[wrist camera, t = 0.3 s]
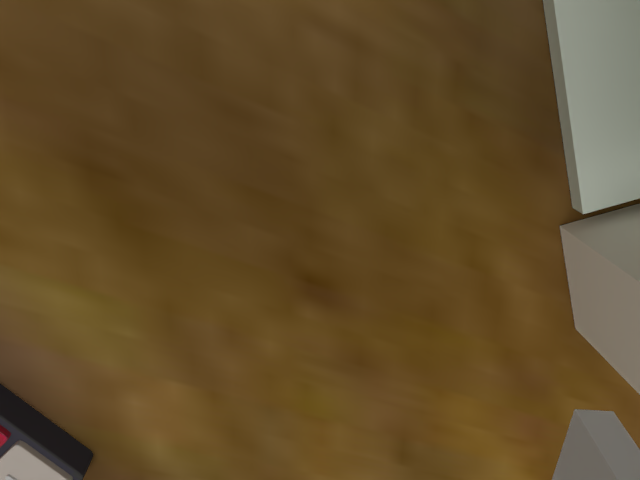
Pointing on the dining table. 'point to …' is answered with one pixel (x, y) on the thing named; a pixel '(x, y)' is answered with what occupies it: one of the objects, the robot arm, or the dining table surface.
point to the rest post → (607, 285)
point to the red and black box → (36, 445)
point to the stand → (597, 97)
